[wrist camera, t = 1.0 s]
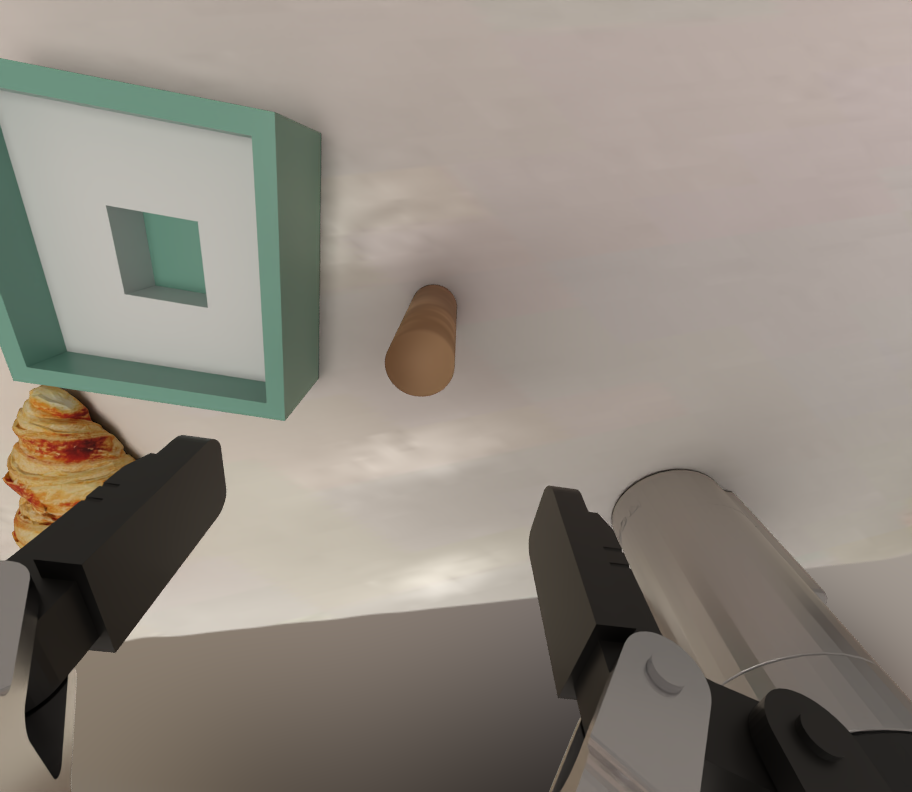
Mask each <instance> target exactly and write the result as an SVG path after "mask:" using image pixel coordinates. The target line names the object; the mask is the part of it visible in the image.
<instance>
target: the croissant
mask: <svg viewBox="0 0 912 792" xmlns="http://www.w3.org/2000/svg"><path fill="white" fill-rule="evenodd" d="M29 392H30V397H29V399H27V400H26V401H25V402H24V405H23V408H20V409H19V412H18V414H17V419H16V420H15V421H14V424H13V427H12V429H13V431H14V433H15V434H16V435H17V436H18V438H19V442H17V443H15V445H14V446H13V450H12V452H11V454H10V455H9V457H8V461H7V467H8V470H9V471H8V472H7V474H6V475H5V477H4V478H2V479H3V480H4V482H5V483H6V484H7V485H8V486H9V487H11V488H12V489H13V490H14V491H15V492H17V493H18V494H19V495H20V496H21V498H20V500H19V509H18V511H17V512H16V515H15V518H14V531H13V532H12V535H13V538H14V540H15V542H16V544H17V545H18V546H19V547H20V548H22V547H24V546H25V545H26V544H27V543H29V542H30V541H31V540H32V539H34V538H35V537H36V536H37V535H39V534H40V533H41V532H42V531H44V530H45V529H46V528H47V527H49V526H50V525H51V524H52V523H53V522H55V521H56V520H57V519H58V518H60V517H61V516H62V515H63V514H65V513H66V512H67V511H68V510H70V509H71V508H72V507H73V506H75V505H76V504H77V503H78V502H80V501H81V500H85V499H86V496H87V495H88V494H90V493H91V492H92V491H93V490H95V489H96V488H97V487H98V486H102V485H103V482H105V481H106V480H107V479H108V478H110V477H111V476H112V475H113V474H114V473H116V472H117V471H118V470H119V469H121V468H122V467H123V466H125V465H127V464H129V463H131V462H133V461H135V459H134V458H133V457H131V455H128V454H126V453H125V451H124V450H123V448H124V446H123V445H122V444H121V443H120V442H119V440H118V439H117V438H116V437H115V436H114V435H113V434H109V433H108V432H107V431H106V430H104V429H102V426H101V425H100V424H97V423H95V422H92V421H91V418H90V415H89V411H88V409H87V408H86V407H85V406H84V405H83V404H82V403H81V402H80V401H78V400H77V399H76V398H75V397H73V396H72V395H71V394H69V393H68V392H67V391H65V390H63V389H61V388H58V387H53V386H46V385H41V386H39V387H37V388H34V389H32V390H31V391H29Z"/></svg>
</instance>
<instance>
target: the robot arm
mask: <svg viewBox="0 0 912 792" xmlns="http://www.w3.org/2000/svg"><path fill="white" fill-rule="evenodd" d="M225 498H226V484H225V476H224V468H223V460H222V452H221V446H220V443H219V442H218V441H217V440H215V439H208V438H200V437H193V436H186V435H181V436H178V437H176V438H175V439H174V440H172V441H171V442H170V443H169V444H168V445H166V446H165V447H164V448H163V449H162V450H161V451H159V452H158V453H157V454H153V453H150V454H148V455H146V456H144V457H142V458H140V459H137V460H135V461H133V462H131V463H129V464H127V465H125V466H123V467H122V468H121V469H119V470H118V471H117V472H116V473H114V474H113V475H112V476H111V477H110V478H108V479H107V480H106V481H105V482H103V485H102V486H98V487H97V488H96V489H95V490H93V491H92V492H91V493H90V494H88V495H87V496H86V499H85V500H81V501H80V502H78V503H77V504H76V505H75V506H73V507H72V508H71V509H70V510H68V511H67V512H66V513H65V514H63V515H62V516H61V517H60V518H58V519H57V520H56V521H55V522H53V523H52V524H51V525H50V526H49V527H47V528H46V529H45V530H44V531H42V532H41V533H40V534H39V535H37V536H36V537H35V538H34V539H32V540H31V541H30V542H29V543H27V544H26V545H25V546H24V547H22V548H21V549H20V550H19V551H17V552H16V553H15V554H14V555H12V556H11V557H10V558H8V559H7V560H6V561H0V792H71V771H72V754H73V736H74V718H75V701H76V683H77V674H76V670H75V668H74V667H75V666H76V665H77V664H78V662H79V661H80V660H81V659H82V658H83V656H84V655H85V654H86V653H87V651H88V650H93V651H103V652H113V653H115V652H116V651H117V650H118V649H119V647H120V646H121V645H122V643H123V642H124V641H125V639H126V638H127V637H128V635H129V634H130V633H131V631H132V630H133V629H134V627H135V626H136V625H137V623H138V622H139V621H140V619H141V618H142V617H143V615H144V614H145V613H146V612H147V610H148V609H149V608H150V606H151V605H152V604H153V602H154V601H155V600H156V598H157V597H158V596H159V594H160V593H161V592H162V590H163V589H164V588H165V586H166V585H167V584H168V582H169V581H170V580H171V578H172V577H173V576H174V574H175V573H176V572H177V570H178V569H179V568H180V566H181V565H182V564H183V562H184V561H185V560H186V558H187V557H188V556H189V554H190V553H191V552H192V550H193V549H194V548H195V546H196V545H197V544H198V542H199V541H200V540H201V538H202V537H203V536H204V534H205V533H206V532H207V530H208V529H209V528H210V526H211V525H212V524H213V522H214V521H215V520H216V518H217V517H218V516H219V514H220V512H221V510H222V508H223V505H224V502H225ZM612 525H613V529H614V531H613V529H612V528H611V527H610V526H609V525H608V524H607V523H606V522H605V521H604V520H603V518H602V517H601V516H600V515H599V514H598V513H593V512H588V510H587V507H586V505H585V502H584V500H583V498H582V495H581V493H580V492H579V490H577V489H570V488H562V487H555V486H547V487H546V488H545V490H544V492H543V495H542V498H541V501H540V504H539V507H538V510H537V513H536V516H535V519H534V522H533V525H532V528H531V531H530V536H529V555H530V560H531V565H532V570H533V575H534V580H535V585H536V590H537V595H538V600H539V605H540V610H541V615H542V620H543V625H544V630H545V635H546V640H547V645H548V650H549V655H550V660H551V665H552V670H553V675H554V680H555V685H556V690H557V695H558V698H564V699H574V700H577V702H578V707H579V711H580V715H581V718H580V719H579V721H578V723H577V725H576V728H575V730H574V733H573V735H572V738H571V740H570V742H569V745H568V748H567V750H566V752H565V755H564V757H563V760H562V762H561V764H560V767H559V769H558V772H557V774H556V776H555V779H554V781H553V784H552V786H551V789H550V791H549V792H912V701H911V700H910V699H909V698H908V697H907V695H906V694H905V693H904V692H903V691H902V690H901V689H900V687H899V686H898V685H897V684H896V683H895V682H894V681H893V680H892V679H891V678H890V676H889V675H888V674H887V673H886V672H885V671H884V670H883V669H882V668H881V667H880V665H879V664H878V663H877V662H876V661H875V660H874V659H873V658H872V657H871V655H870V654H869V653H868V652H867V651H866V650H865V649H864V648H863V646H862V645H861V644H860V643H859V642H858V641H857V640H856V639H855V638H854V636H853V635H852V634H851V633H850V632H849V631H848V630H847V629H846V627H845V626H844V625H843V624H842V623H841V622H840V621H839V620H838V618H836V616H835V615H834V614H833V613H832V612H831V611H830V610H829V608H828V607H827V606H826V605H825V604H826V603H827V596H826V593H825V592H824V591H823V589H822V588H821V587H820V586H819V585H818V584H817V583H816V582H815V581H814V580H813V578H811V576H810V575H809V574H808V573H807V572H806V571H805V570H804V569H803V568H802V566H801V565H800V564H799V563H798V562H797V561H796V560H795V559H794V558H793V557H792V556H791V555H790V553H789V552H788V551H787V550H786V549H785V548H784V547H783V546H782V545H781V544H780V543H779V542H778V540H777V539H776V538H775V537H774V536H773V535H772V534H771V533H770V532H769V531H768V530H767V528H766V527H765V526H764V525H763V524H762V523H761V522H760V521H759V520H758V519H757V518H756V517H755V515H754V514H753V513H752V512H751V511H750V510H749V509H748V508H747V507H746V506H745V505H744V504H743V502H742V501H741V500H740V499H739V498H738V497H737V496H736V495H735V494H734V493H732V492H726V491H723V490H722V489H721V487H720V486H719V485H718V484H717V483H716V482H715V481H714V480H713V479H711V478H710V477H708V476H707V475H704V474H701V473H699V472H695V471H689V470H672V471H666V472H661V473H658V474H655V475H652V476H649V477H647V478H645V479H643V480H641V481H639V482H637V483H636V484H635V485H633V486H632V487H631V488H629V489H628V490H627V491H626V492H625V493H624V494H623V495H622V496H621V498H620V499H619V501H618V502H617V504H616V506H615V508H614V511H613V515H612ZM614 532H615V533H614ZM615 534H616V535H615ZM616 536H617V537H616ZM617 538H618V539H617ZM618 541H619V542H618ZM619 543H620V544H619ZM620 545H621V546H620ZM621 547H622V548H621ZM622 549H623V552H624V553H622ZM625 556H626V557H625ZM626 558H627V559H626ZM627 560H628V561H627ZM629 565H630V567H631V569H629Z"/></svg>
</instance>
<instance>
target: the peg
mask: <svg viewBox="0 0 912 792" xmlns="http://www.w3.org/2000/svg"><path fill="white" fill-rule="evenodd" d="M456 319H457V304H456V300H455V298H454V296H453V294H452V293H451V292H450V291H449V290H448V289H447V288H445V287H443V286H440V285H427V286H424V287H422V288H421V289H419V290H418V291H417V292H416V294H415V295H414V297H413V299H412V301H411V303H410V305H409V308H408V310H407V312H406V314H405V316H404V318H403V320H402V322H401V324H400V326H399V328H398V330H397V332H396V334H395V336H394V339H393V341H392V343H391V345H390V347H389V349H388V351H387V354H386V358H385V368H386V372H387V375H388V377H389V379H390V380H391V382H392V383H393V384H394V385H395V386H396V387H397V388H398V389H399V390H401V391H403V392H405V393H407V394H409V395H413V396H430V395H433V394H436V393H438V392H440V391H441V390H443V389H444V388H445V387H446V386H447V385H448V384H449V382H450V380H451V379H452V376H453V373H454V367H455V343H456Z"/></svg>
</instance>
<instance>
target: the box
mask: <svg viewBox="0 0 912 792" xmlns="http://www.w3.org/2000/svg"><path fill="white" fill-rule="evenodd" d="M320 186H321V133H319V132H317V131H315V130H312V129H310V128H308V127H306V126H304V125H302V124H299V123H297V122H295V121H293V120H291V119H288V118H286V117H284V116H282V115H280V114H277V113H275V112H271V111H266V110H261V109H256V108H251V107H246V106H241V105H236V104H230V103H225V102H220V101H215V100H210V99H205V98H200V97H195V96H190V95H185V94H180V93H175V92H169V91H164V90H159V89H154V88H149V87H144V86H139V85H134V84H129V83H124V82H119V81H114V80H108V79H103V78H98V77H93V76H88V75H83V74H78V73H73V72H68V71H63V70H58V69H53V68H48V67H42V66H37V65H32V64H27V63H22V62H17V61H12V60H7V59H2V58H0V346H1V349H2V351H3V354H4V357H5V359H6V362H7V365H8V367H9V370H10V373H11V375H12V378H13V381H19V382H26V383H33V384H40V385H46V386H53V387H60V388H67V389H73V390H80V391H87V392H94V393H100V394H107V395H114V396H121V397H127V398H134V399H141V400H148V401H154V402H161V403H168V404H175V405H181V406H188V407H195V408H202V409H208V410H215V411H222V412H229V413H235V414H242V415H249V416H256V417H262V418H269V419H276V420H283V421H285V420H286V419H287V418H288V416H289V415H290V414H291V413H292V411H293V410H294V409H295V408H296V406H297V405H298V404H299V402H300V401H301V400H302V399H303V397H304V396H305V395H306V394H307V392H308V391H309V390H310V389H311V387H312V386H313V385H314V384H315V382H316V381H317V380H318V372H319V279H320Z"/></svg>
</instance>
